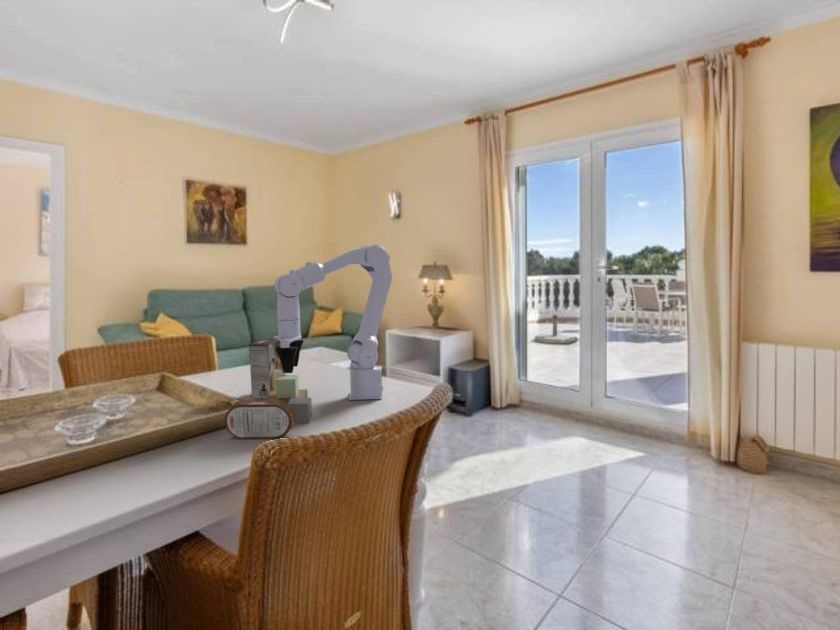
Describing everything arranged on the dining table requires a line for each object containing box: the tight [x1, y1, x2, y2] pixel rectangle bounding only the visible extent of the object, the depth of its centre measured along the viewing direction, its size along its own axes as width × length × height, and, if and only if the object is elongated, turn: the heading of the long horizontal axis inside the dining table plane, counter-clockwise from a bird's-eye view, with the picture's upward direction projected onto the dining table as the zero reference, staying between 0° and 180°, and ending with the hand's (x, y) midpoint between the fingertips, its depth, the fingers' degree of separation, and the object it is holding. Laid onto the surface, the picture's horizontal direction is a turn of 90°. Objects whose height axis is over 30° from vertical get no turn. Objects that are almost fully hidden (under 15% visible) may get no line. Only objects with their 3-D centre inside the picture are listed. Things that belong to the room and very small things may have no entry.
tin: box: [224, 399, 295, 440], centre depth 102 cm, size 15×3×8 cm, turn 92°
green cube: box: [276, 374, 300, 398], centre depth 123 cm, size 5×5×5 cm
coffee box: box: [248, 338, 286, 400], centre depth 136 cm, size 9×6×16 cm
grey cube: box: [288, 397, 313, 424], centre depth 114 cm, size 5×5×5 cm
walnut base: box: [265, 388, 309, 404], centre depth 124 cm, size 10×10×4 cm
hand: (291, 369), depth 124 cm, fingers open, 7 cm apart
